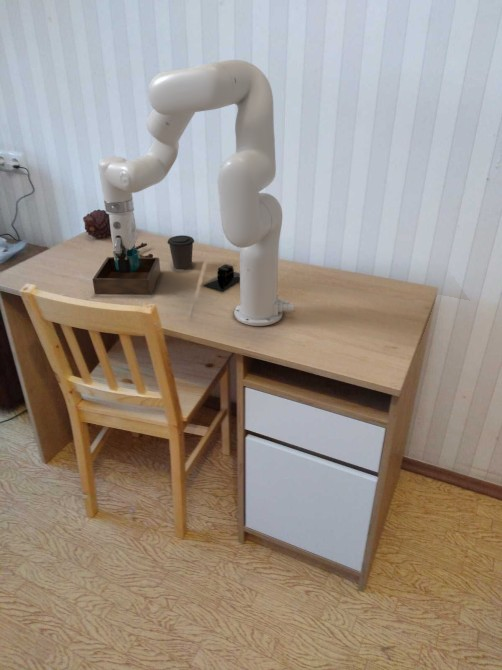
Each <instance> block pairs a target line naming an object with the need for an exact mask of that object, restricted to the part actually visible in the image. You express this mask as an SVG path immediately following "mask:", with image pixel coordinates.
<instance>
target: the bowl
mask: <svg viewBox="0 0 502 670" xmlns="http://www.w3.org/2000/svg"><path fill="white" fill-rule="evenodd" d="M122 253H124V255H125V251H122ZM139 254H140V250H139V249H138V250H137V249H134V248H132V249H131V250H129V249H128V259H129V261H130V268H131V272H133V271H135V270H137V268H139V267H140V266H141V262H140V255H141V254H140V255H139ZM113 257H114V260H115V267H116V269H117V270H119V267H118V261H117V255H116V253H115V252H114V253H113Z"/></svg>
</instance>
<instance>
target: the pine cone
mask: <svg viewBox="0 0 502 670" xmlns="http://www.w3.org/2000/svg"><path fill="white" fill-rule="evenodd" d="M82 221H83V223H84V230H85V233H88V234H87V235H88V236H91V237H93V238H100V239H102V238H104V237H105V238H106V237H108V235H111V229H110V218H109V214H107V213H106V210H104V209H94V210H93V211H90V213H86V215H85V216H83V218H82Z"/></svg>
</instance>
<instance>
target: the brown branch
mask: <svg viewBox="0 0 502 670" xmlns="http://www.w3.org/2000/svg"><path fill="white" fill-rule="evenodd" d="M147 246H148V242H147V243H146V242H141V243H140V244H139V245H137V246H135V249H137V250H138V251H139V250H140V249H142V248H145V247H147ZM121 248H125V246H121ZM114 252H115V250H113V251H112V253H113V254H114ZM139 255H140V257H143V258H154V255H153V253H148V254H147V255H142V254H140V253H139Z"/></svg>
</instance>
